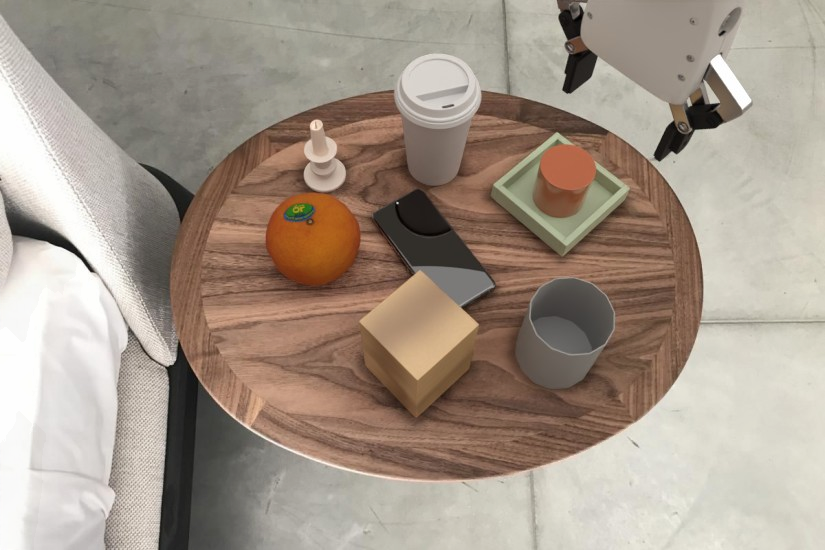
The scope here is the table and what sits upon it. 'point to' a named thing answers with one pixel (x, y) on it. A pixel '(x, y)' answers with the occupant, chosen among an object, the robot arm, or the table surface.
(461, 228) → the table surface
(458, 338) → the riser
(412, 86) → the coffee cup
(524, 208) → the tray
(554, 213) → the orange cylinder puck
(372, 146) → the table surface
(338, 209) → the fruit
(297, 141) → the table surface
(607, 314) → the cup
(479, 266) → the smartphone
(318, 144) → the candle
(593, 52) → the robot arm
